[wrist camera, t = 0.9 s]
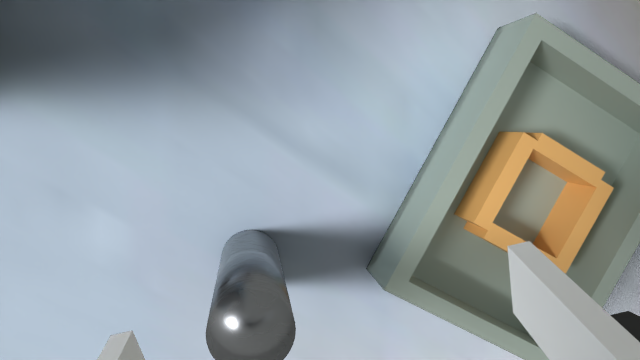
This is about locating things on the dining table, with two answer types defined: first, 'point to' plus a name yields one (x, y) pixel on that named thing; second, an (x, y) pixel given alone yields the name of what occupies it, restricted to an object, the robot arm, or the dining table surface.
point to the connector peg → (250, 302)
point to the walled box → (521, 185)
